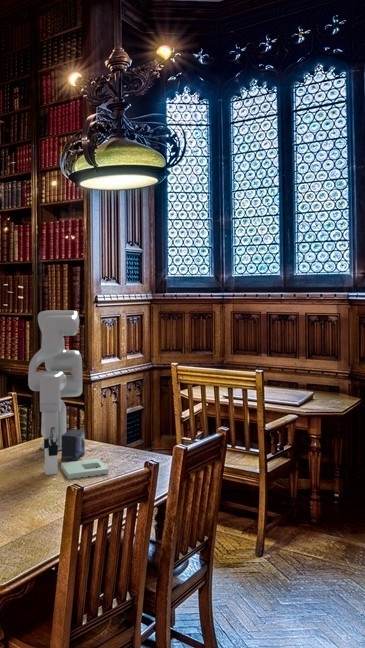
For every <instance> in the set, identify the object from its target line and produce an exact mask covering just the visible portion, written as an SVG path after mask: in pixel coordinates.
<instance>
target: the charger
mask: <svg viewBox="0 0 365 648" xmlns="http://www.w3.org/2000/svg"><path fill="white" fill-rule="evenodd" d="M44 473H45V475H46V476H49V475H57V474H58V455H56V456H49V447H48V448H45V450H44Z"/></svg>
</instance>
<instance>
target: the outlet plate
mask: <svg viewBox="0 0 365 648" xmlns="http://www.w3.org/2000/svg"><path fill="white" fill-rule="evenodd" d="M96 467H97V468H96ZM60 469H61V470H62V472H63V473H64V475H65V477H66V478H67V480H74V478H76V479H81V477H83V478H89V477H88V476H91V477H96V476H95V475H98V476H102V475H101V474H105V475H109V474H108V473H110V471H109V467H108V466H107V465H106V464H105V462H103V461H102V460H101V459H100V458H93V459H92V458H91V459H85V460H83V459H82V460H76V461H66V462H61V463H60Z"/></svg>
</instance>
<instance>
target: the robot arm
mask: <svg viewBox="0 0 365 648" xmlns="http://www.w3.org/2000/svg"><path fill="white" fill-rule="evenodd" d="M37 323H38V326H39V329H40V332H41V348H40V349H39V350H38V351H37V352H36V353H35V354H34V355H33V357H32V358H31V360H30V362H29V365H28V377H27V378H28V379H27V381H28V382H27V383H28V384H27V385H28V387H29V389H30V390H31V391H33V392H39V412H41V429H40V431H41V433H40V434H41V437H43V443H41V444H40V449H41V450H43V451H45V448H48V447H49V456H56V455H57V456H58V454H59V453H58V452H59V451H62V435H63V434H64V433H66V432H67V407H66V404H65V402H64V401H63V400H62V399H61V398H72V397H74V398H75V397H80V396H81V395H82V393H83V359H82V354H81V353H80V351H79V350H75V349H72V350H71V349H67V350H66V348H65V338H64V336H65V337H68V336H69V337H70V336H76V335H77V334H78V332H79V327H80V316H79V313H78V311H76V310H68V309H67V310H66V309H65V310H64V309H63V310H61V309H59V310H58V309H51V310H50V309H49V310H48V309H47V310H44V311H43V310H42V311H40V312H39V313H38V315H37ZM42 363H44V366H45V370H41V371H37V369H38V367H39V366H41V364H42ZM65 373H71V374H65Z"/></svg>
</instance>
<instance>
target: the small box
mask: <svg viewBox="0 0 365 648" xmlns="http://www.w3.org/2000/svg"><path fill="white" fill-rule="evenodd" d="M85 436H86V433H85V429H83V430H82V429H74V428H73V429H72V428H71V429H69V430H68V431H66V433H64V434H63V435H62V450H61V459H60V460H61V461H66V462H74V461H78V460H79V459H80V458H82V457H83V456H84V455H85V452H86V451H85V448H86V447H85V446H86V445H85V442H86V441H85V439H86V437H85Z"/></svg>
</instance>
